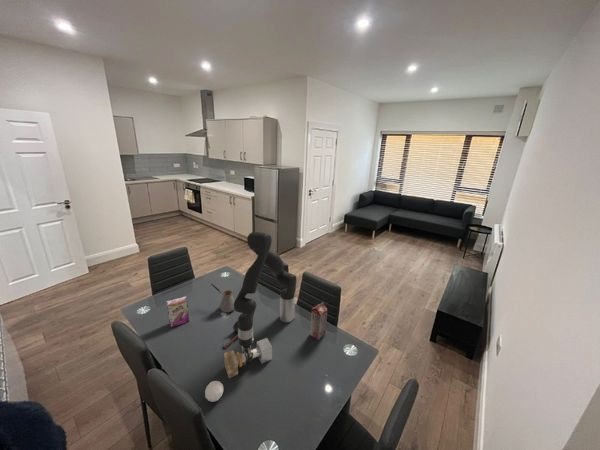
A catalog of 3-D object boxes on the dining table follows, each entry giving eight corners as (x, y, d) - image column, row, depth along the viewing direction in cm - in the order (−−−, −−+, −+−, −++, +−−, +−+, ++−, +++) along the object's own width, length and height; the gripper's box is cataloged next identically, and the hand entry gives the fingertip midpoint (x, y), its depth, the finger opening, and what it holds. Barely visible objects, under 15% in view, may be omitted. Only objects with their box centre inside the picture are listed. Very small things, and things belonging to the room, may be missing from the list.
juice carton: (325, 334, 148) (328, 304, 141) (318, 340, 143) (321, 309, 136) (316, 329, 152) (319, 299, 145) (309, 334, 147) (312, 303, 141)
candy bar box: (170, 328, 147) (166, 305, 142) (169, 323, 151) (165, 301, 146) (189, 322, 153) (187, 299, 148) (188, 317, 157) (185, 295, 152)
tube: (265, 348, 134) (265, 338, 132) (270, 357, 128) (270, 347, 126) (232, 361, 124) (231, 351, 122) (236, 372, 119) (235, 361, 117)
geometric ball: (219, 401, 109) (227, 395, 105) (202, 406, 104) (209, 400, 100) (218, 382, 114) (225, 376, 110) (201, 386, 109) (208, 380, 105)
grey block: (266, 350, 135) (266, 337, 132) (272, 359, 129) (272, 346, 126) (256, 354, 132) (256, 341, 129) (261, 363, 126) (261, 350, 123)
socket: (233, 362, 126) (233, 349, 123) (238, 374, 120) (237, 360, 117) (225, 366, 123) (224, 353, 121) (228, 378, 117) (228, 364, 115)
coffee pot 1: (240, 307, 169) (239, 288, 164) (228, 316, 159) (227, 297, 155) (218, 297, 178) (217, 279, 174) (205, 305, 169) (204, 287, 164)
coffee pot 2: (243, 324, 152) (251, 333, 147) (217, 343, 140) (225, 353, 135) (242, 316, 148) (251, 325, 144) (216, 334, 136) (224, 344, 132)
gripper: (258, 340, 115) (258, 368, 121) (248, 322, 127) (249, 348, 132) (242, 346, 112) (243, 374, 117) (234, 327, 123) (235, 353, 129)
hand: (246, 360), depth 125 cm, fingers closed on tube, 4 cm apart
